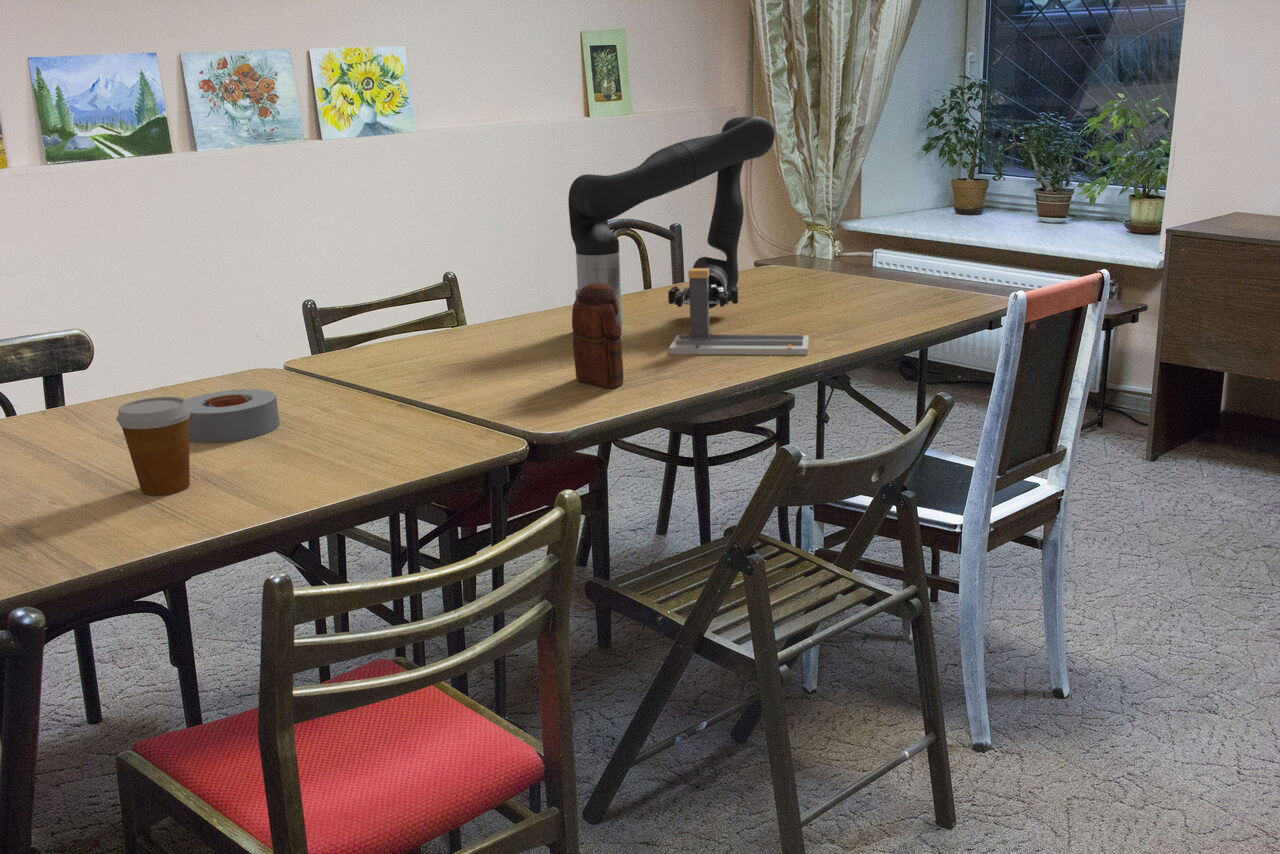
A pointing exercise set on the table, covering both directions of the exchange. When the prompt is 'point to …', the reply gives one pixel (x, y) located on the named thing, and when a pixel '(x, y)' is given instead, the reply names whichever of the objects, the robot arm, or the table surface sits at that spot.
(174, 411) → the disposable coffee cup
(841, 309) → the table surface
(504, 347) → the table surface
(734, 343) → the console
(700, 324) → the fader
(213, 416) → the tape roll
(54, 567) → the table surface
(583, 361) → the wooden figurine
